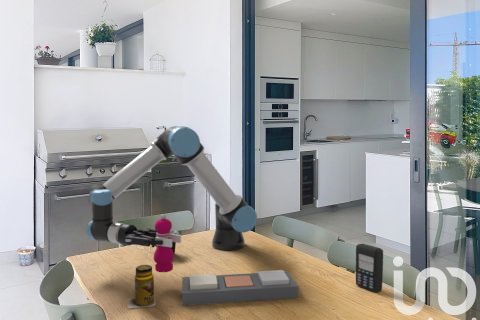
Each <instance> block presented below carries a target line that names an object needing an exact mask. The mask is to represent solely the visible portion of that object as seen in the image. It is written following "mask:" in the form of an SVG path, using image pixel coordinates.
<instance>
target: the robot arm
mask: <svg viewBox="0 0 480 320" xmlns="http://www.w3.org/2000/svg"><path fill="white" fill-rule="evenodd" d="M204 151H205V147H204V145H203V144H202V143H201V140H200V137H199V134H197V132H196V131H195V130H193V128H190V127H188V126H178V125H177V126H175V125H174V126H171V127H168V128H166V129H165V130H164V131H163V132H162V133H160V134H159V135H158V136H157V137H156V138H154V140H152V141H151V142H150V146H149V147H147V148H146V149H145V150H144V151H142V152H141V153H140V154H138V156H136V157H135V158H134V159H133V160H131V161H130V162H129V163H127V165H125V166H124V167H122V168H121V169H120V170H118V171H117V173H115V174H114V175H112V176H111V177H110V178H109V179H108V180H106V181H105V182H104V183H103V184H101V185H100V186H99V187H98V188H94V189H93V190H91V191H90V192H89V195H88V198H87V201H88V204H89V206H90V207H91V213H92V220H91V221H89V222H88V223H87V227H86V229H85V233H86V236H87V237H88V238H89V239H91V240H93V241H97V242H106V243H112V244H113V243H114V244H115V245H120V244H121V245H125V246H131V245H136V246H140V247H141V246H143V247H151V248H155V247H156V246H155V245H158V246H165V247H172V242H176V244H177V243H178V244H182V234H178V233H177V234H170V235H171V236H170V237H169V239H168V238H160V237H156V235H157V234H156V233H157V231H156V230H155V229H152V228H149V227H148V228H146V230H144V229H140V228H139V229H138V228H137V227H136V225H134V224H129V223H121V222H114V217H113V216H114V215H113V214H114V213H113V211H114V210H113V208H114V207H113V201H114V200H115V199H116V198H117V197H118V196H120V195H121V194H122V193H123V192H124V191H126V190H127V189H128V188H129V187H131V186H132V185H133V184H134V183H136V182H137V181H138V180H139V179H140V178H142V177H143V176H144V175H145V174H146V173H148V172H149V171H150V170H152V169H153V168H154V167H156V165H157V164H159V163H161V161H166V160H168V159H169V158H170V157H172V156H173V157H174V158H176V160H177V161H178V162H179V164H181V166H187V167H188V168H189V170H190V172H192V174H193V175H194V176H195V178H196V179H197V180H198V181H199V183H200V184H201V185H202V187H203V188H204V189H205V190H206V192H207V193H208V194H209V196H210V197H211V198H212V199H213V201H214V202H215V204H214V207H215V208H214V209H215V210H214V211H215V215H214V216H215V231H214V235H213V238H212V242H211V243H212V244H211V246H212V247H213V248H214V249H217V250H223V251H234V250H240V249H242V248H244V247H245V246H246V244H245V242H246V241H245V237H244V235H243V233H247V232H250V231H251V230H252V229H254V228H255V226H256V223H257V220H258V215H257V212H256V210H255V209H254V208H253V207H252V206H251V205H249V204H248V203H247V202H246V201H245V199H244V198H243V197H242V196H241V195H239V194H236V193H235V192H234V191H233V189H232V188H231V187H230V185H229V184H228V183H227V182H226V180H225V179H224V178H223V176H222V175H221V174H220V172H219V171H218V169H217V168H216V167H215V166H214V165H213V163H212V162H211V161H210V159H209V158H208V157H207V156H206V154H205V152H204Z"/></svg>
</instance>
